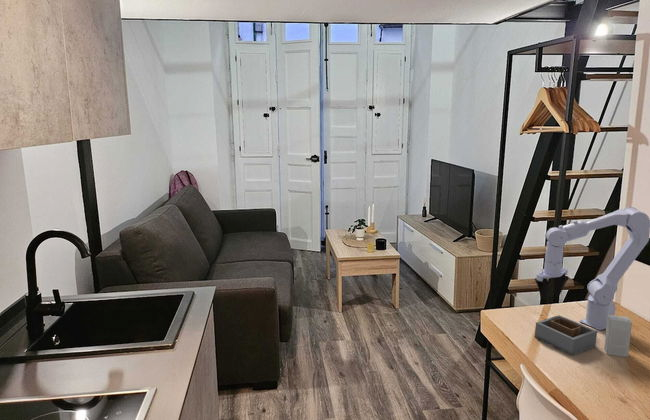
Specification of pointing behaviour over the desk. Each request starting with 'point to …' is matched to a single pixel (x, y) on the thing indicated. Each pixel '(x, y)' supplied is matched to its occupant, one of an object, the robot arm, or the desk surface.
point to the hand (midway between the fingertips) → (550, 295)
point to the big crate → (565, 337)
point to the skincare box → (618, 335)
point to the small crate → (566, 327)
